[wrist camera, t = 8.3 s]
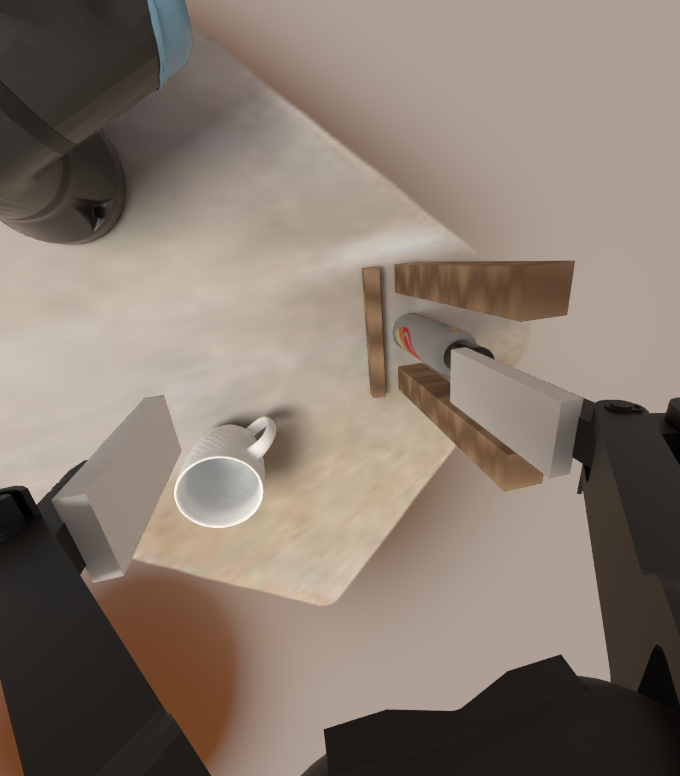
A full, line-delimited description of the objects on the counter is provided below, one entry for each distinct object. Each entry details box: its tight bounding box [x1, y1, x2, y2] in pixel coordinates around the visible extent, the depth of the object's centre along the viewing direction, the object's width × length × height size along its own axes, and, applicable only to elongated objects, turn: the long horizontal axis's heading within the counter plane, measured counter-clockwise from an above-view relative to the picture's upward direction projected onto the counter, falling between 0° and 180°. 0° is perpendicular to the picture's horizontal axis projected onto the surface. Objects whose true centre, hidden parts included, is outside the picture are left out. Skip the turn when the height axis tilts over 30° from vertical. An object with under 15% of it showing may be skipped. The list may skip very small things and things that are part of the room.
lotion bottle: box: [393, 314, 494, 376], centre depth 45 cm, size 6×6×20 cm
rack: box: [362, 261, 575, 492], centre depth 41 cm, size 20×9×28 cm, turn 6°
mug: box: [174, 416, 277, 528], centre depth 49 cm, size 15×11×13 cm
